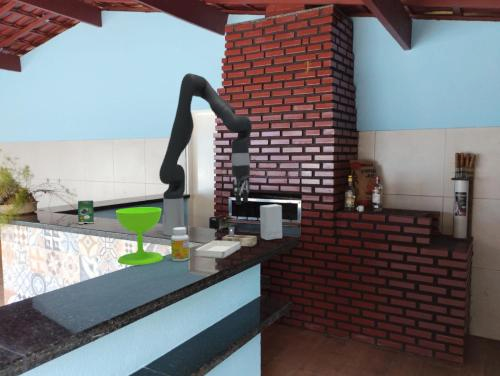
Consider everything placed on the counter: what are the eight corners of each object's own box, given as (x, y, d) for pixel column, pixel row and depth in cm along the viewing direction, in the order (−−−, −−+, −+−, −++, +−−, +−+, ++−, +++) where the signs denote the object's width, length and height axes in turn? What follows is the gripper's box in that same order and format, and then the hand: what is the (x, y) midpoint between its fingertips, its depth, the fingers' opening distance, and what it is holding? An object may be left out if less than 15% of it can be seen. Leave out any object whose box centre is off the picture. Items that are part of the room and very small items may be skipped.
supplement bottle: (167, 260, 151) (166, 228, 150) (180, 256, 156) (179, 226, 155) (180, 262, 147) (179, 230, 146) (192, 258, 152) (192, 227, 151)
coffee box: (93, 222, 238) (92, 199, 237) (94, 223, 235) (93, 200, 234) (78, 224, 234) (77, 200, 233) (79, 224, 232) (77, 201, 230)
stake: (228, 243, 177) (227, 227, 176) (229, 242, 178) (229, 226, 178) (233, 244, 176) (233, 227, 175) (235, 243, 178) (234, 227, 177)
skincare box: (276, 236, 192) (275, 203, 190) (282, 238, 186) (282, 205, 185) (259, 238, 188) (259, 205, 187) (266, 240, 182) (265, 206, 181)
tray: (194, 256, 155) (194, 249, 155) (214, 246, 172) (214, 240, 172) (223, 258, 152) (223, 251, 151) (240, 248, 168) (240, 241, 168)
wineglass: (108, 263, 147) (106, 212, 145) (132, 253, 162) (131, 206, 161) (149, 266, 143) (147, 213, 141) (170, 255, 158) (169, 207, 156)
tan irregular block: (221, 245, 174) (220, 238, 174) (228, 241, 181) (227, 234, 181) (250, 247, 170) (250, 239, 169) (256, 243, 177) (256, 236, 177)
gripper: (238, 164, 182) (239, 201, 183) (225, 165, 168) (227, 205, 170) (254, 163, 179) (255, 201, 181) (243, 164, 166) (244, 205, 167)
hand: (242, 203), depth 175 cm, fingers open, 8 cm apart
